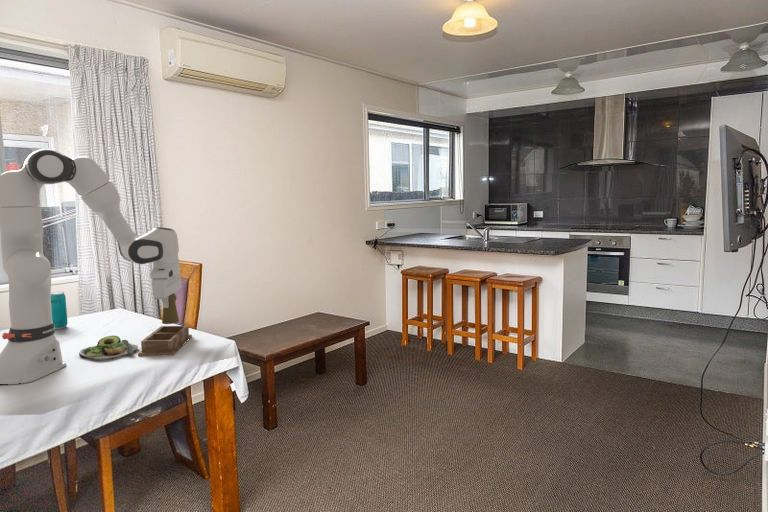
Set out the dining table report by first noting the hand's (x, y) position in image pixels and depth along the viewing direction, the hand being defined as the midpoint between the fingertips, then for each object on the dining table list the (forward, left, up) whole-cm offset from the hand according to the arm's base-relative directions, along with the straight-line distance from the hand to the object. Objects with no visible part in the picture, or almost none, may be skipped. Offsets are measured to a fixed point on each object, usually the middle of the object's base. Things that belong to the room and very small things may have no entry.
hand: (169, 305), depth 189 cm
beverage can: (+22, +53, -15) cm, 59 cm away
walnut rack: (-5, 0, -14) cm, 15 cm away
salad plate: (-11, +18, -15) cm, 26 cm away
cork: (0, 0, -7) cm, 7 cm away
